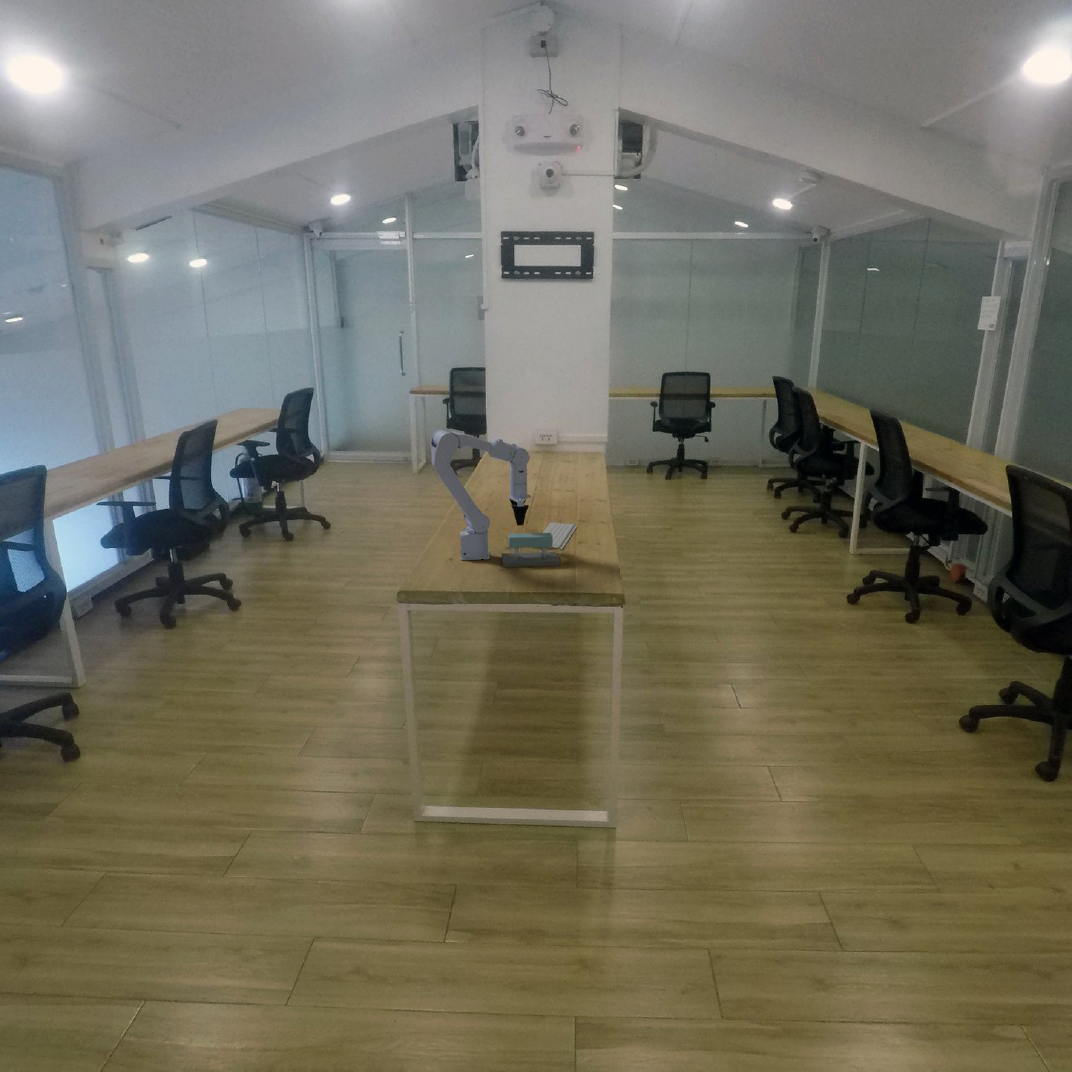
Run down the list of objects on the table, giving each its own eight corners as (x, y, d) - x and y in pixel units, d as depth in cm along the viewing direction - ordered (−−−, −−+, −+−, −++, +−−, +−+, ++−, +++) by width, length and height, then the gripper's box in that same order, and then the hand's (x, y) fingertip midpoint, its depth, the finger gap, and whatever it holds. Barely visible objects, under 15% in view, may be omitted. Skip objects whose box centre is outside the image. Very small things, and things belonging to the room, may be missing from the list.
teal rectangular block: (509, 548, 241) (509, 537, 240) (508, 544, 246) (508, 533, 245) (552, 547, 243) (552, 536, 242) (550, 542, 247) (550, 532, 246)
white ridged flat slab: (581, 528, 286) (550, 526, 289) (581, 520, 286) (550, 519, 288) (566, 552, 258) (532, 549, 260) (566, 544, 257) (532, 541, 259)
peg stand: (503, 567, 240) (503, 550, 238) (501, 557, 250) (501, 541, 248) (559, 565, 242) (559, 549, 240) (555, 556, 251) (555, 540, 250)
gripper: (532, 487, 243) (533, 527, 247) (528, 477, 256) (528, 516, 260) (511, 487, 242) (511, 528, 246) (507, 478, 256) (508, 516, 260)
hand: (519, 522), depth 253 cm, fingers open, 7 cm apart
